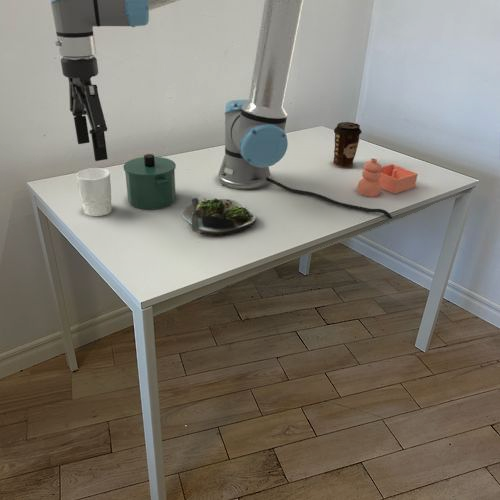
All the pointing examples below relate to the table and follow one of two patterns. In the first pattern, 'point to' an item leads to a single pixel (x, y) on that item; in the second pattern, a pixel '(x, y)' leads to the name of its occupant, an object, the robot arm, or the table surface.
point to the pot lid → (149, 166)
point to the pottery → (385, 179)
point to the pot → (151, 191)
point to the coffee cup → (346, 143)
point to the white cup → (95, 191)
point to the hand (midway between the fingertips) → (92, 151)
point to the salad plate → (218, 217)
